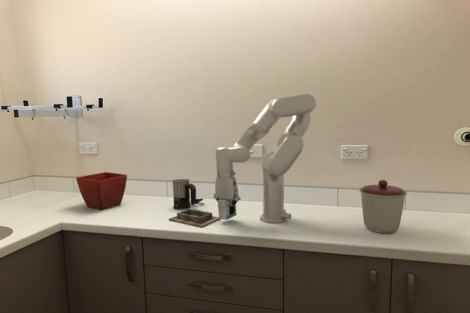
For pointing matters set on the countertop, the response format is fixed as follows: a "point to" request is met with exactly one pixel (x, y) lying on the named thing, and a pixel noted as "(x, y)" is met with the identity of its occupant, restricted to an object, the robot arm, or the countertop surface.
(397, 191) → the canister
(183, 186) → the milk frother
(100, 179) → the plant pot
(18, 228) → the countertop surface
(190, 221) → the holder
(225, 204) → the medicine box
